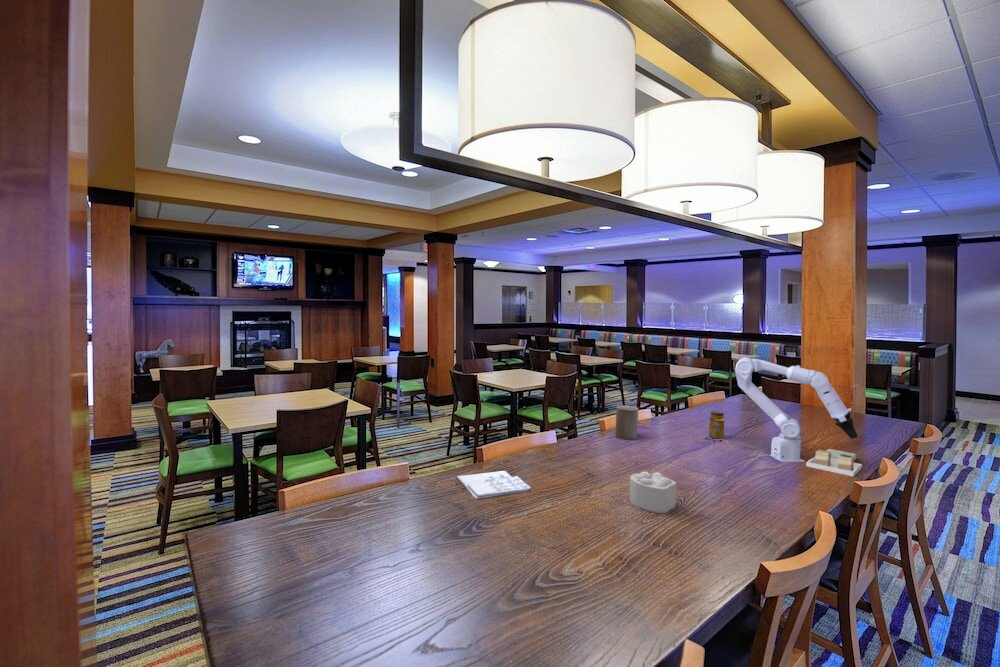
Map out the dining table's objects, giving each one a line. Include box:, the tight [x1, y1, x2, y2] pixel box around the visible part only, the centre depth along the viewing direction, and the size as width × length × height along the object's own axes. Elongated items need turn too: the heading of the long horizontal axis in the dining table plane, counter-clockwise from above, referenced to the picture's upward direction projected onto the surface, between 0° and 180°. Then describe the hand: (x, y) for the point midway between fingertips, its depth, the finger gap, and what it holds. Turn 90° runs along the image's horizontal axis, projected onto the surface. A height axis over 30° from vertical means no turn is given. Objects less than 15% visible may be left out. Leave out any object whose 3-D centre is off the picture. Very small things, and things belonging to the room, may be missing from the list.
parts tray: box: [805, 456, 863, 478], centre depth 176 cm, size 14×13×2 cm
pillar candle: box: [615, 405, 639, 441], centre depth 217 cm, size 10×10×15 cm
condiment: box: [703, 410, 725, 439], centre depth 216 cm, size 7×8×12 cm
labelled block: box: [837, 454, 855, 471], centre depth 173 cm, size 4×4×5 cm
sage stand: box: [825, 448, 857, 461], centre depth 186 cm, size 9×9×2 cm
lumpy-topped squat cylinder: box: [629, 471, 677, 514], centre depth 143 cm, size 10×13×9 cm
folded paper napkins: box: [456, 470, 532, 500], centre depth 158 cm, size 19×20×2 cm
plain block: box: [814, 449, 831, 467], centre depth 178 cm, size 4×4×5 cm
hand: (853, 435), depth 175 cm, fingers open, 7 cm apart
